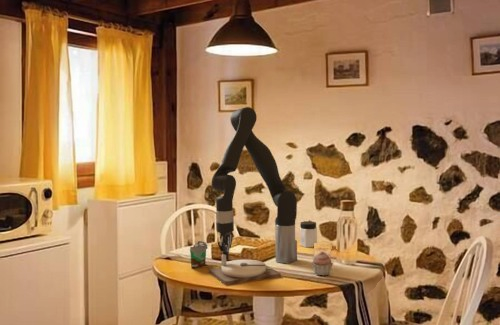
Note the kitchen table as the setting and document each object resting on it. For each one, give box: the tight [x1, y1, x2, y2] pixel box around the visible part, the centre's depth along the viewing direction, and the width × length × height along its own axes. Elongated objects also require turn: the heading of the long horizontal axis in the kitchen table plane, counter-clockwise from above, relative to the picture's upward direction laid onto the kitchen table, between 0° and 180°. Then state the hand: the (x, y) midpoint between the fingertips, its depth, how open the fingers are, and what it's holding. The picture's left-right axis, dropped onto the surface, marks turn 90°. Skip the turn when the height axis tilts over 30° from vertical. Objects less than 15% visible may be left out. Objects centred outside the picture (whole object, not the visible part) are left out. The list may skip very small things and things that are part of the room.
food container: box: [189, 240, 209, 269], centre depth 248 cm, size 12×6×10 cm, turn 168°
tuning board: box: [207, 264, 282, 286], centre depth 233 cm, size 25×20×2 cm
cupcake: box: [310, 251, 334, 276], centre depth 232 cm, size 9×9×10 cm
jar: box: [299, 220, 318, 248], centre depth 282 cm, size 9×8×12 cm
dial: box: [221, 253, 267, 278], centre depth 233 cm, size 19×19×7 cm
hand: (226, 259), depth 237 cm, fingers closed
